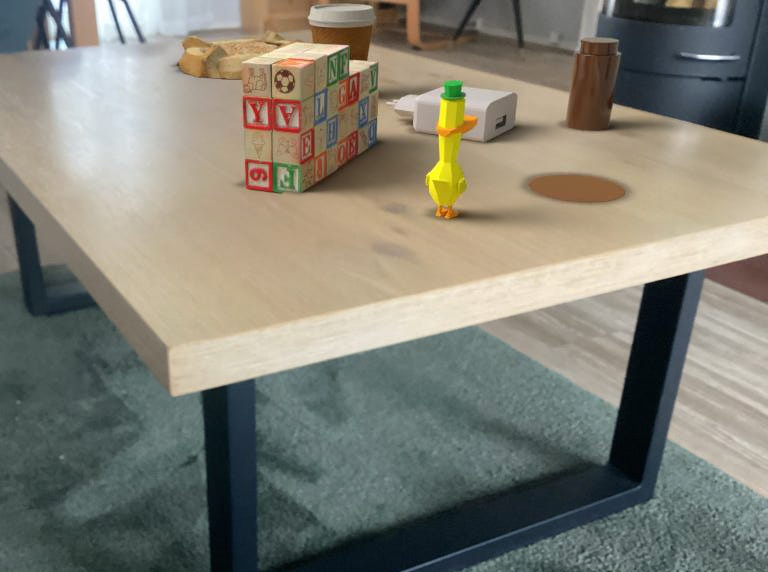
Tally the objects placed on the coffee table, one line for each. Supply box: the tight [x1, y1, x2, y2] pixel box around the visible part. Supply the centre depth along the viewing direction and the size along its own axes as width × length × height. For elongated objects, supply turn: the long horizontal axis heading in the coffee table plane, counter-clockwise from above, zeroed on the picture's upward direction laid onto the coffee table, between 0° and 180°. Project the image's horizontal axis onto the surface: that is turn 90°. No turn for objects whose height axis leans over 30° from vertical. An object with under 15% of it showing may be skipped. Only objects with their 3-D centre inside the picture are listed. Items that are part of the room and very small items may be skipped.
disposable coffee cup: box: [307, 3, 377, 61], centre depth 122 cm, size 10×10×12 cm
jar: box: [564, 36, 622, 132], centre depth 104 cm, size 5×5×10 cm
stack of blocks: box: [241, 42, 379, 194], centre depth 90 cm, size 21×6×12 cm, turn 155°
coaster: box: [528, 174, 626, 204], centre depth 84 cm, size 9×9×1 cm
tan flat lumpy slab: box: [175, 29, 307, 80], centre depth 146 cm, size 24×24×5 cm
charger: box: [386, 85, 518, 143], centre depth 106 cm, size 5×9×15 cm
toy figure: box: [425, 80, 478, 219], centre depth 75 cm, size 7×4×12 cm, turn 142°
